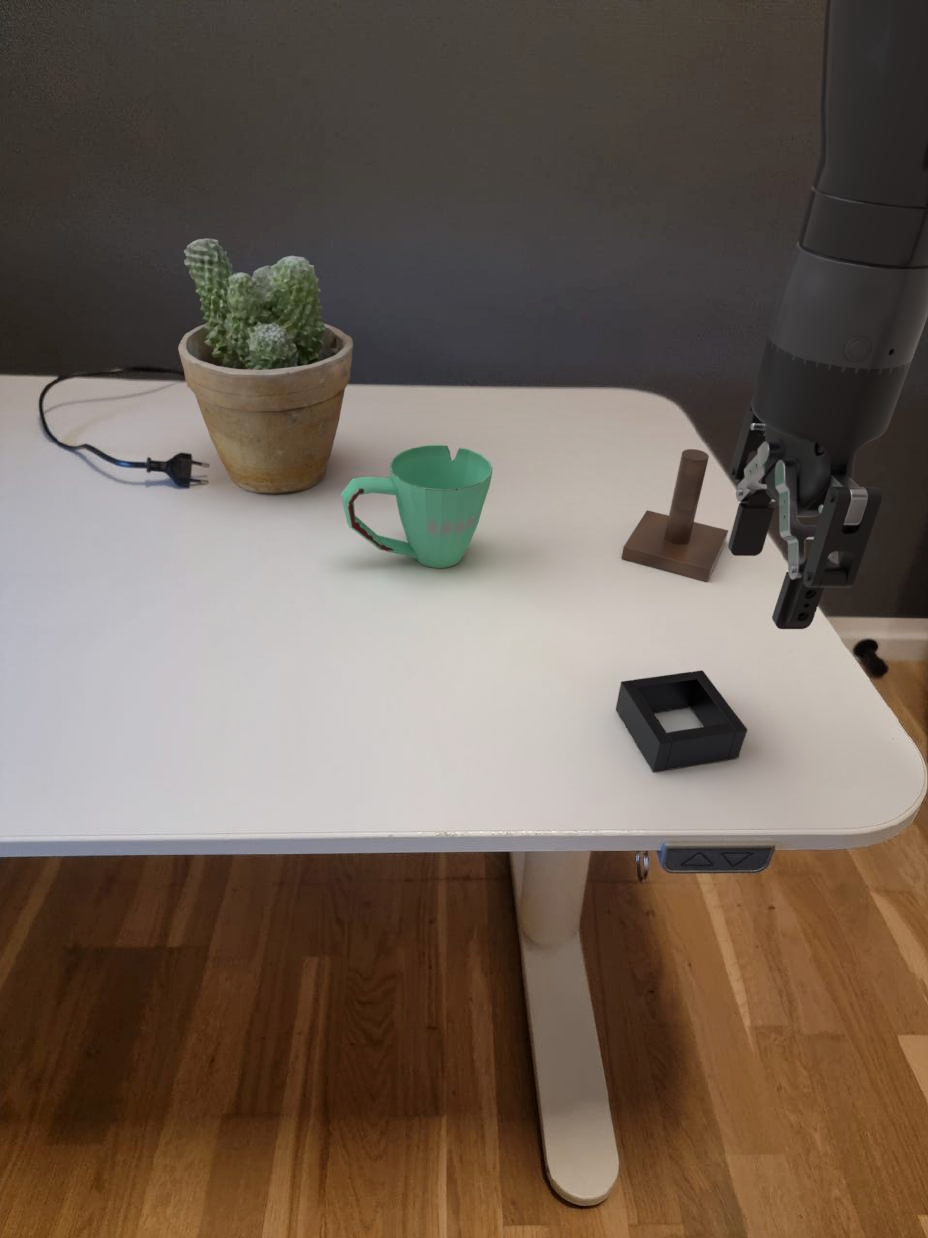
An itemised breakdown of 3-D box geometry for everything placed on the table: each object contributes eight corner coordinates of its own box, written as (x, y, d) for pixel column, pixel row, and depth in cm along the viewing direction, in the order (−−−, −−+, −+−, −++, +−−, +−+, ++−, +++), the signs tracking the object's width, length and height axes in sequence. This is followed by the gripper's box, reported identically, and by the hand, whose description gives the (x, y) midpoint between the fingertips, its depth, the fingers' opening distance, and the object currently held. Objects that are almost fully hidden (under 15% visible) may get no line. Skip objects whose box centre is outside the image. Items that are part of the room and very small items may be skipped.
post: (725, 542, 93) (749, 447, 87) (707, 582, 87) (732, 483, 80) (644, 521, 96) (662, 428, 90) (621, 558, 89) (638, 461, 83)
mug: (467, 526, 93) (471, 440, 88) (500, 573, 86) (508, 482, 80) (333, 544, 89) (329, 455, 83) (357, 596, 82) (353, 502, 76)
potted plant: (361, 442, 110) (356, 231, 95) (350, 513, 95) (342, 275, 80) (215, 438, 109) (187, 224, 94) (180, 508, 94) (141, 267, 79)
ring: (738, 758, 66) (748, 729, 64) (652, 772, 65) (660, 743, 63) (695, 697, 72) (702, 669, 70) (615, 709, 70) (620, 681, 68)
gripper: (978, 389, 41) (868, 654, 51) (850, 302, 53) (780, 532, 62) (828, 385, 41) (745, 655, 50) (732, 299, 52) (679, 531, 62)
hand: (765, 587), depth 56 cm, fingers open, 8 cm apart
